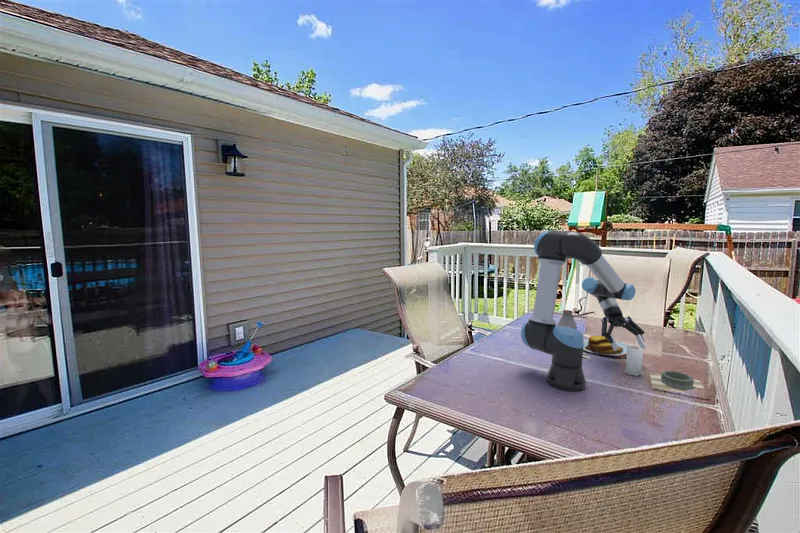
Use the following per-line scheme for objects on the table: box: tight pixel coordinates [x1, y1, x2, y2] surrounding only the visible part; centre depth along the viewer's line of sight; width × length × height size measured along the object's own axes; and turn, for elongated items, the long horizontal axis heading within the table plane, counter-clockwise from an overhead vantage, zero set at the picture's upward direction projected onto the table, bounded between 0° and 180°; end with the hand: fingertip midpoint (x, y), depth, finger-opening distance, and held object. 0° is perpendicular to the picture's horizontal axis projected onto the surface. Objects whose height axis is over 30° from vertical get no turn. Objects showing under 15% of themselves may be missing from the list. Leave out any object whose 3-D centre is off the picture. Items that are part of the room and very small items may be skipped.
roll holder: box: [648, 370, 705, 393], centre depth 151 cm, size 18×18×4 cm
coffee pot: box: [556, 309, 596, 330], centre depth 226 cm, size 21×12×15 cm, turn 49°
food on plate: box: [583, 335, 630, 359], centre depth 195 cm, size 25×25×7 cm
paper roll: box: [625, 345, 644, 376], centre depth 164 cm, size 6×6×12 cm
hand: (630, 349), depth 168 cm, fingers open, 13 cm apart
